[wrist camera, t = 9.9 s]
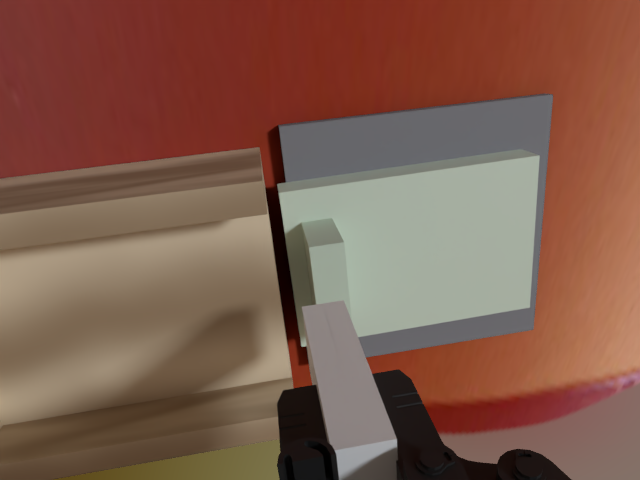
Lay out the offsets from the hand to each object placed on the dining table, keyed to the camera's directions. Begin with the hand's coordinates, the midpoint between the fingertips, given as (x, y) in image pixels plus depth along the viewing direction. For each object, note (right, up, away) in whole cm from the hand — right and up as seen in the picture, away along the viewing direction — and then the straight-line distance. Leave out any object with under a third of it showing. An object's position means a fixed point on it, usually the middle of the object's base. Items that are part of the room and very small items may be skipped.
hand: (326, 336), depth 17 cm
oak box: (-9, +2, +6) cm, 12 cm away
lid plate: (+4, +3, +7) cm, 9 cm away
